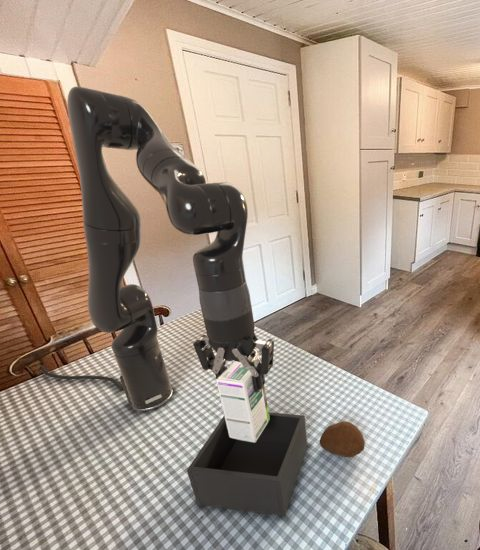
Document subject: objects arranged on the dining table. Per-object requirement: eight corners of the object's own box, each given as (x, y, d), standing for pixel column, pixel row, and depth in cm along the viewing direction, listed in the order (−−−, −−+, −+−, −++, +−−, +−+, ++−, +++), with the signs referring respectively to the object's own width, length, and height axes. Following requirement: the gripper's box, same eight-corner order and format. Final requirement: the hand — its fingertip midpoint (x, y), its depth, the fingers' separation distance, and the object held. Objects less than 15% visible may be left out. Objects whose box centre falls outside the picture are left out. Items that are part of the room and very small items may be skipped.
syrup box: (255, 443, 57) (245, 383, 52) (227, 438, 58) (215, 378, 53) (270, 419, 63) (262, 362, 57) (244, 415, 64) (234, 358, 58)
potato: (324, 432, 74) (323, 411, 71) (366, 437, 73) (367, 415, 70) (316, 459, 67) (315, 436, 65) (363, 465, 66) (363, 441, 64)
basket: (197, 505, 58) (186, 470, 55) (235, 439, 72) (229, 408, 68) (285, 516, 57) (279, 481, 53) (307, 447, 70) (304, 415, 67)
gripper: (277, 300, 53) (286, 376, 59) (200, 296, 55) (217, 371, 61) (258, 321, 46) (271, 406, 52) (171, 316, 48) (193, 399, 54)
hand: (241, 387), depth 57 cm, fingers closed on syrup box, 6 cm apart
